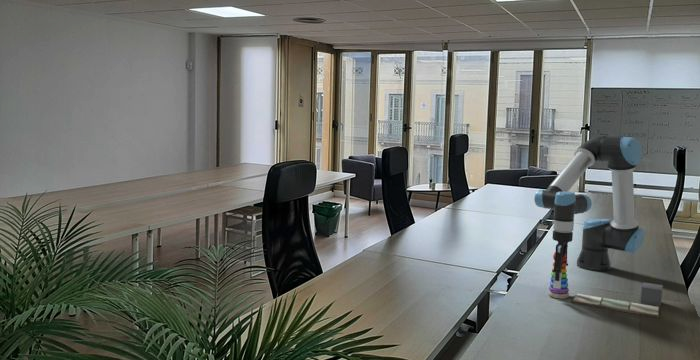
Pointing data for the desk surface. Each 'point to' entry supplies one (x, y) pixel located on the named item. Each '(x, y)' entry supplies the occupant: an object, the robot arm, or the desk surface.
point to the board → (616, 305)
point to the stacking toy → (564, 289)
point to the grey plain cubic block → (651, 294)
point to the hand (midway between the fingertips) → (559, 284)
